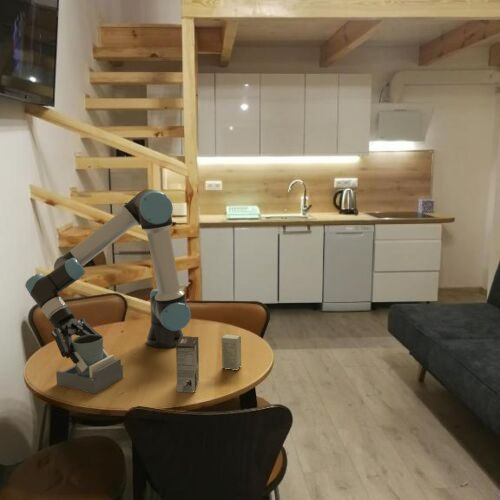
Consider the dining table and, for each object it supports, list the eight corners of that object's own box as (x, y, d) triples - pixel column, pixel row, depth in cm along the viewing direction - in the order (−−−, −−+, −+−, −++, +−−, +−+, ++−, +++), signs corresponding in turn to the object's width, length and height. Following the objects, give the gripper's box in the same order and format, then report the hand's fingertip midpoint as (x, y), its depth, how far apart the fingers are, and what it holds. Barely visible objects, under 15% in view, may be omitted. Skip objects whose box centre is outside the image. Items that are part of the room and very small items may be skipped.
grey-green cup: (76, 380, 158) (72, 345, 157) (73, 370, 168) (70, 336, 166) (107, 374, 162) (104, 340, 161) (103, 364, 172) (101, 332, 170)
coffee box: (180, 380, 167) (180, 335, 164) (199, 380, 167) (199, 336, 164) (176, 392, 158) (175, 345, 155) (195, 392, 158) (195, 345, 155)
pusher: (89, 386, 159) (88, 366, 157) (112, 373, 169) (111, 354, 168) (92, 387, 158) (91, 366, 157) (114, 374, 168) (114, 355, 167)
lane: (56, 384, 163) (55, 364, 161) (86, 369, 175) (85, 350, 174) (95, 393, 156) (94, 373, 155) (123, 377, 169) (122, 358, 168)
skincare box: (241, 367, 179) (241, 335, 177) (237, 371, 175) (237, 339, 172) (225, 364, 181) (225, 333, 179) (221, 369, 177) (221, 337, 175)
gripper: (76, 311, 179) (111, 358, 175) (26, 328, 158) (65, 382, 155) (86, 298, 176) (123, 347, 172) (37, 315, 156) (77, 370, 152)
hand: (96, 363), depth 163 cm, fingers closed on grey-green cup, 10 cm apart
